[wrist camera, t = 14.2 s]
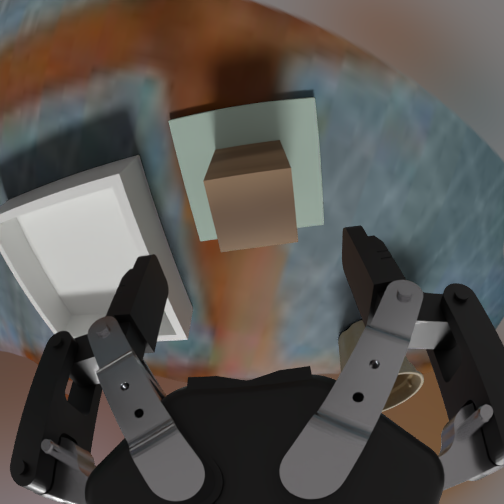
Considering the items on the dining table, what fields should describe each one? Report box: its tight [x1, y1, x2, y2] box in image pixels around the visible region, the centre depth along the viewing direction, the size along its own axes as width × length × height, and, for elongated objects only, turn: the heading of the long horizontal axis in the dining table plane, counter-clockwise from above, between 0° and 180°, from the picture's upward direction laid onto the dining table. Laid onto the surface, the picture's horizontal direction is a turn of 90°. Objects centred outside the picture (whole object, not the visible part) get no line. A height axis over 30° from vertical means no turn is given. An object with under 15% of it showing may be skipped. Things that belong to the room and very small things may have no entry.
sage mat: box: [169, 97, 324, 241], centre depth 21 cm, size 10×10×1 cm
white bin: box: [0, 155, 193, 341], centre depth 24 cm, size 16×16×4 cm
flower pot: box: [338, 320, 424, 411], centre depth 29 cm, size 9×9×9 cm
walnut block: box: [203, 140, 298, 252], centre depth 18 cm, size 4×4×6 cm
